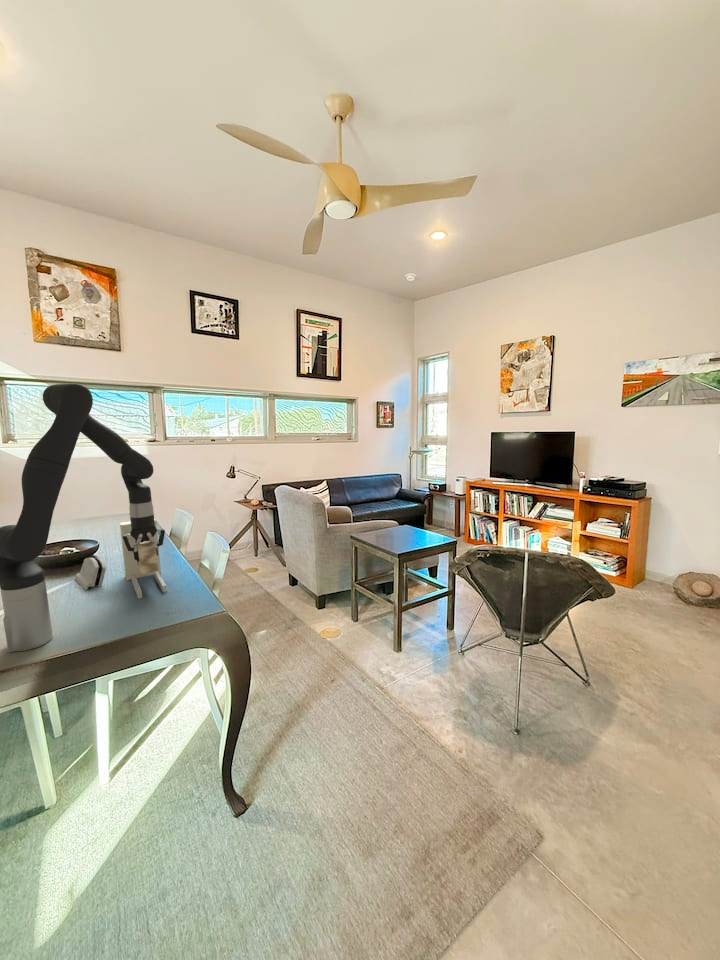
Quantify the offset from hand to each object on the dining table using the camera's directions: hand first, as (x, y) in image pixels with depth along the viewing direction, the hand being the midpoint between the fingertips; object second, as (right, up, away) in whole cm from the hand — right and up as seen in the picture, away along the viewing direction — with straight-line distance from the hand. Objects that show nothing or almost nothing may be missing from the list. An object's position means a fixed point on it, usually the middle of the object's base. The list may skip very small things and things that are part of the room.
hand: (146, 558), depth 142 cm
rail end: (0, -3, 0) cm, 3 cm away
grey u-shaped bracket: (-2, -10, +5) cm, 11 cm away
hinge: (-25, -11, +7) cm, 28 cm away
